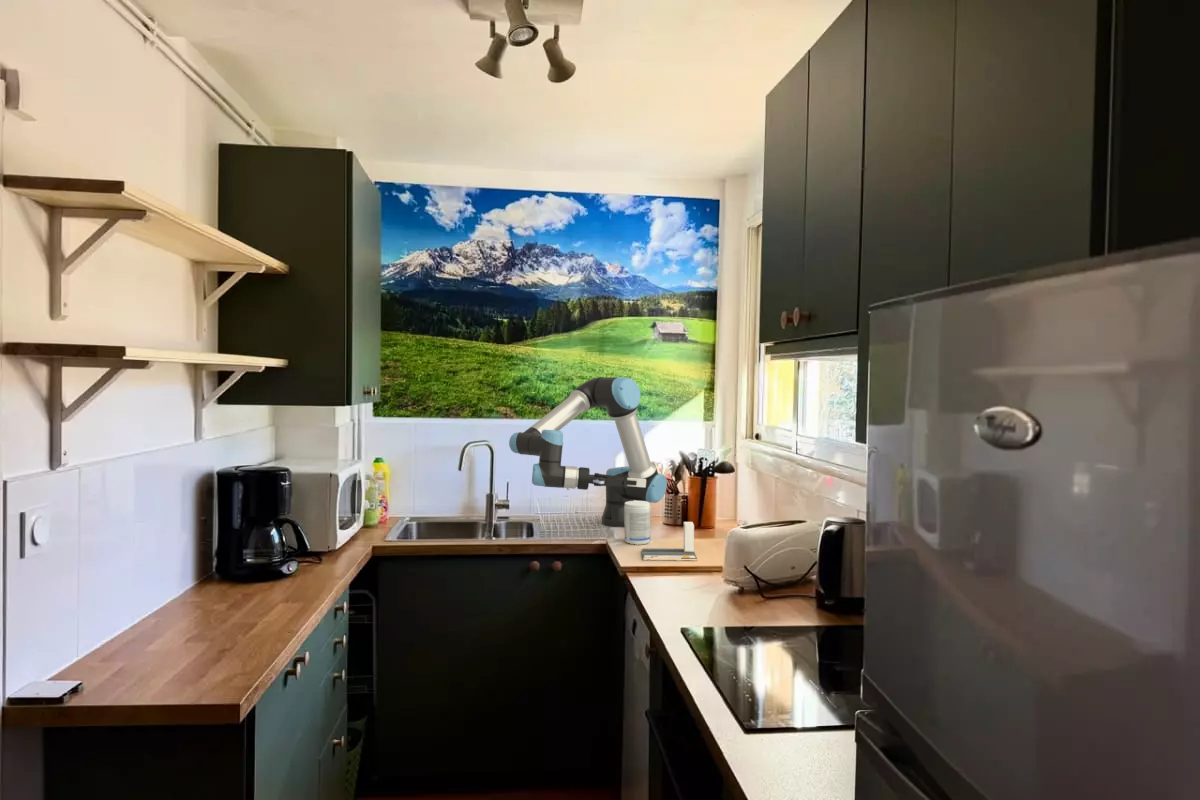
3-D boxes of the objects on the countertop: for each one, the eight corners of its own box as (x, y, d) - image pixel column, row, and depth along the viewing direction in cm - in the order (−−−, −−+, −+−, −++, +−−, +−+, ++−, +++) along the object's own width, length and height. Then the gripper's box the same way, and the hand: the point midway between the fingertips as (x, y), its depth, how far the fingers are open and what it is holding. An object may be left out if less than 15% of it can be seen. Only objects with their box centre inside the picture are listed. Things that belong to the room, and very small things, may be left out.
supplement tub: (655, 542, 268) (655, 502, 267) (638, 546, 262) (638, 506, 261) (636, 537, 275) (636, 499, 274) (618, 542, 269) (618, 502, 268)
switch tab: (683, 551, 252) (683, 521, 251) (692, 551, 252) (692, 521, 251) (684, 555, 247) (685, 525, 246) (693, 555, 247) (694, 525, 246)
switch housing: (641, 551, 255) (641, 546, 255) (692, 551, 255) (693, 546, 255) (643, 560, 243) (643, 555, 243) (697, 560, 243) (697, 555, 243)
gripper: (575, 485, 256) (642, 491, 257) (576, 492, 243) (647, 497, 244) (577, 464, 256) (644, 469, 257) (578, 469, 243) (649, 475, 244)
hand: (645, 483), depth 251 cm, fingers closed
